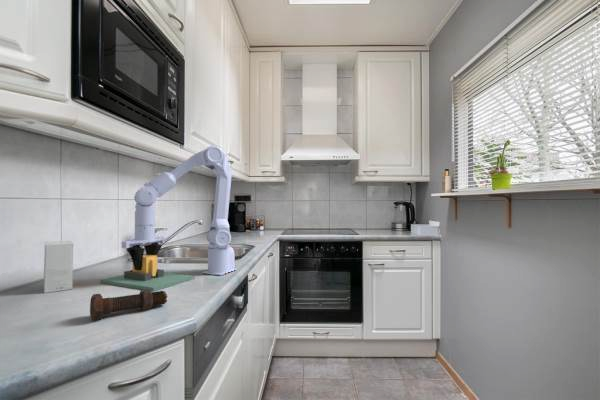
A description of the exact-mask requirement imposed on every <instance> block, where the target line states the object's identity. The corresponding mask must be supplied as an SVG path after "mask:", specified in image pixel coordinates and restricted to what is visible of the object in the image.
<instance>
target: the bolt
mask: <svg viewBox="0 0 600 400" xmlns="http://www.w3.org/2000/svg"><path fill="white" fill-rule="evenodd" d="M89 301H90V304H89V316H90V319H91V321H93V322H99V321H102V317H103V315H105V316H106V315H110V314H113V313H118V312H123V311H124V312H125V311H129V310H138V309H139V310H140V311H143V312H147V311H150V310H151V309H152V308H153V307H156V306H161V305H165V304H166V303H167V302H168V294H167V292H166V291H164V290H157V291H150V290H148V289H146V290H142V289H141V290H140V292H139V293H138V294H129V295H120V296H114V297H104V298H103V296H102V294H101V293H95V294H94V293H93V294H92V295H91V298H90V300H89Z"/></svg>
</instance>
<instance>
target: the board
mask: <svg viewBox="0 0 600 400" xmlns="http://www.w3.org/2000/svg"><path fill="white" fill-rule="evenodd" d="M192 279H193V280H194V279H195V275H190V274H182V273H176V272H175V273H174V272H167V271H166V272H165V270H164V269H160V268H157V271H156V276H151V273H146V274H144V273H137V272H133V269H131V270H126V271H124V272H123V274H120V275H116V276H112V277H106V278H102V279H100V284H105V285H111V286H116V287H117V286H118V287H124V288H129V289H130V288H131V289H137V290H141V291H142V290H146V289H148V290H150V291H151V292H157V291H161V290H162V289H165V288H169V287H172V286H173V287H174V286H175V285H179V284H182V283H185V282H190V281H192Z"/></svg>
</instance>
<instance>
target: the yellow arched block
mask: <svg viewBox="0 0 600 400" xmlns="http://www.w3.org/2000/svg"><path fill="white" fill-rule="evenodd" d="M157 269H158V254H157V255H147V254H146V253H143V258H142V268H141V270H135V268H134V264H133V263H132V270H133V272H137V273H144V274H146V273H151V276H156V271H157Z"/></svg>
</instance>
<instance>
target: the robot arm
mask: <svg viewBox="0 0 600 400" xmlns="http://www.w3.org/2000/svg"><path fill="white" fill-rule="evenodd" d="M202 166H203V167H206V168H208V169H209V170H211V171H212V172H213V174H214V175H216V182H215V194H214V204H213V214H212V220H211V222H210V228H209V230H208V232H207V233H206V240H207V242H208V243H209V244H208V246H207V270H205V271H202V274H204V273H205V275H214V276H223V275H225V273H226V274H229V273H228V272H230V273H232V272H231V271H233V272H235V271H234V270H236V271H237V268H235V265H236V264H235V259H236V258H235V257H236V256H235V254H236V253H235V250H234V248H233V247H232V246H230V243H231V241H232V235H231V232H230V231H231V230H230V224H229V221H228V219H229V207H230V198H231V196H230V195H231V186H232V185H231V184H232V178H233V177H232V175H233V170H232V167H231V166H230V163H229V161H228V159H227V154H226V152H225V151H224V150H223V149H222V148H221V147H219V146H217V145H210V146H208V147H207V148H205V149H203V150H200V151H199V152H197V153H195V154H193V155H191V156H189V157H188V158H187V159H186V160H184V161H183V162H181V164H179V165H178V166H176V168H174V169H173V170H171V171H170V172H168V171H167V172H166V171H163V172H158V173H157V174H156V175H155V177H154V178H153V179H152V180H150V181H149V182H148V183H147V182H145V183H144V184H143V185H144V186H142V187H140V188H139V189H137V191H135V194H134V197H133V199H134V202H136V203H135V205H134V206H135V211H134V238H133V239H130V240H123V241H121V249H126V251H127V253H128V254H129V255H130V259H131V260H132V265H133V264H134V268H135V270H141V268H142V258H143V254H147V255H157V256H158V253H159V252H160V250H161V249H162V244H165V243H166V237H164V236H160V237H157V236H156V237H155V233H156V231H155V230H156V228H155V227H156V226H155V225H156V211H155V202H156V201H157V198H162V196H163V195H165V194H167V193H168V192H169V191H170V190H172V189H174V188H175V186H176V185H177V184H176V183H177V180H178V179H179V178H181V177H182V176H184V175H185V174H187V173H188V172H189V171H191V170H193V169H195V168H196V167H197V168H198V167H202ZM143 246H144V247H143Z"/></svg>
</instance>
